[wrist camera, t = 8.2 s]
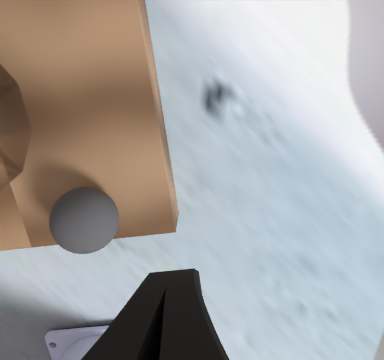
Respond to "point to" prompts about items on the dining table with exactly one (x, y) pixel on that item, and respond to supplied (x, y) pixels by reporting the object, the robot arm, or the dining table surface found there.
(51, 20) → the brown wooden hole board
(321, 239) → the dining table surface
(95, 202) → the gray ball
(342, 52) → the dining table surface
